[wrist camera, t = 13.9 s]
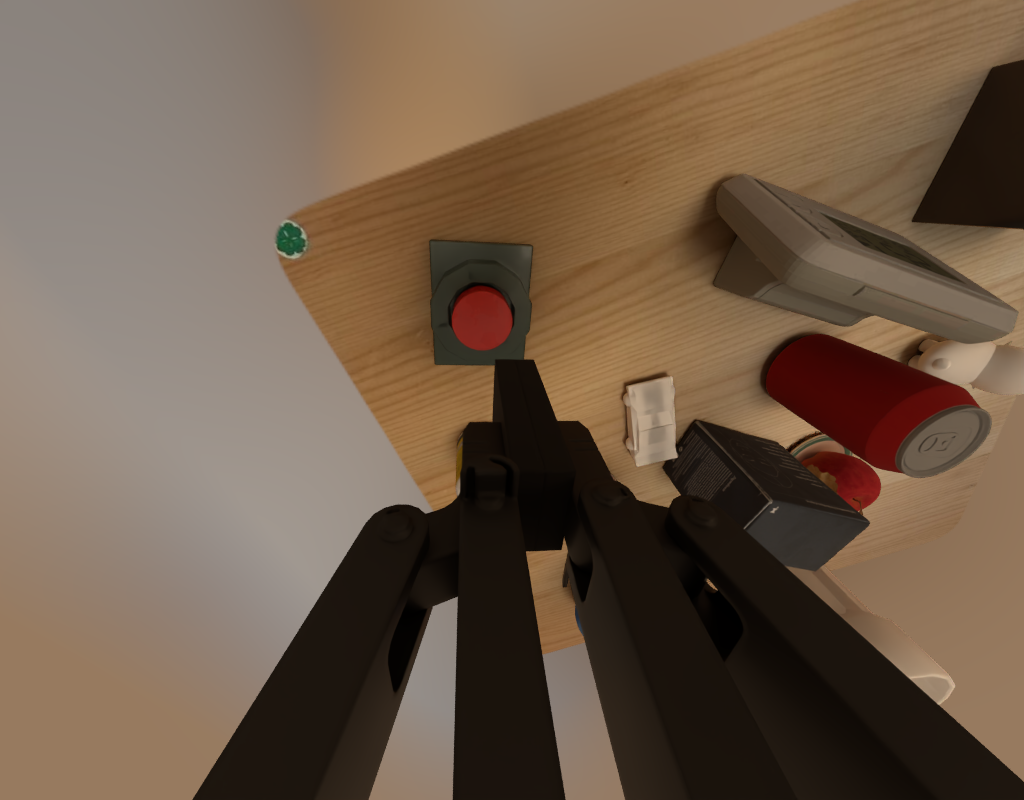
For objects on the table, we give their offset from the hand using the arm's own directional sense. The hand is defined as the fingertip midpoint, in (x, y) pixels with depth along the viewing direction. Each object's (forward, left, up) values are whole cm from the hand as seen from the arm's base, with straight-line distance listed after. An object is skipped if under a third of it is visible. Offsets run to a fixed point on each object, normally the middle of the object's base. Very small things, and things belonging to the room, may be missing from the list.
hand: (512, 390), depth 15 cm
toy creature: (+4, +41, -15) cm, 44 cm away
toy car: (+10, +15, -15) cm, 23 cm away
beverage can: (+5, +28, -15) cm, 32 cm away
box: (+15, +24, -15) cm, 32 cm away
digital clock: (-5, +22, -15) cm, 27 cm away
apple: (+16, +35, -15) cm, 41 cm away
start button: (+1, -1, -13) cm, 13 cm away
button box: (+1, -1, -15) cm, 15 cm away
